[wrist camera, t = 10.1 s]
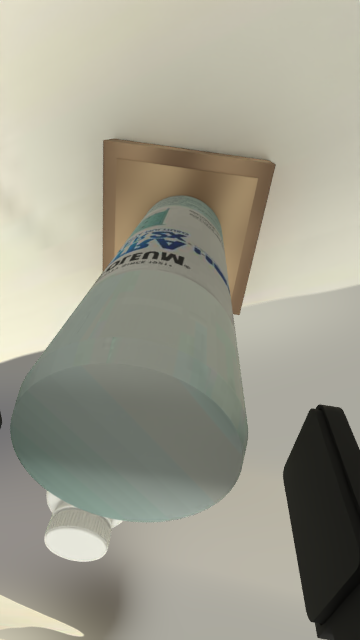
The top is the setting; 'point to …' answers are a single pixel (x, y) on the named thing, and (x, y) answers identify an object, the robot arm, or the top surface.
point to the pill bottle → (77, 531)
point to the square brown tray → (186, 180)
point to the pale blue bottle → (142, 380)
